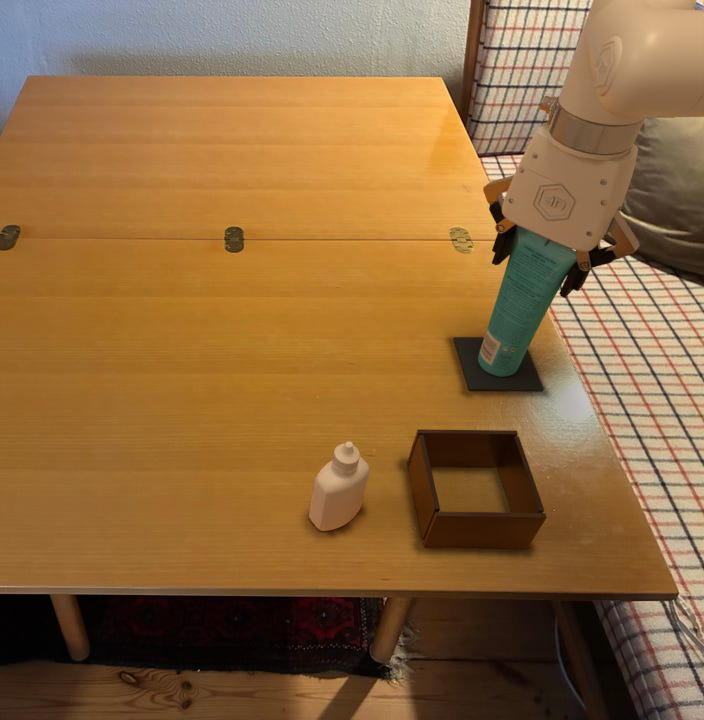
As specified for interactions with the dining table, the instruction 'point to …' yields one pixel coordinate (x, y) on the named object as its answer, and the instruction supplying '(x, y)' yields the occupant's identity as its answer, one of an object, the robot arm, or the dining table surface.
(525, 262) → the tube
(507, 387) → the mat
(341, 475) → the eye dropper bottle
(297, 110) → the dining table surface
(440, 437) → the tube holder
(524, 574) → the dining table surface
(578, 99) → the robot arm
